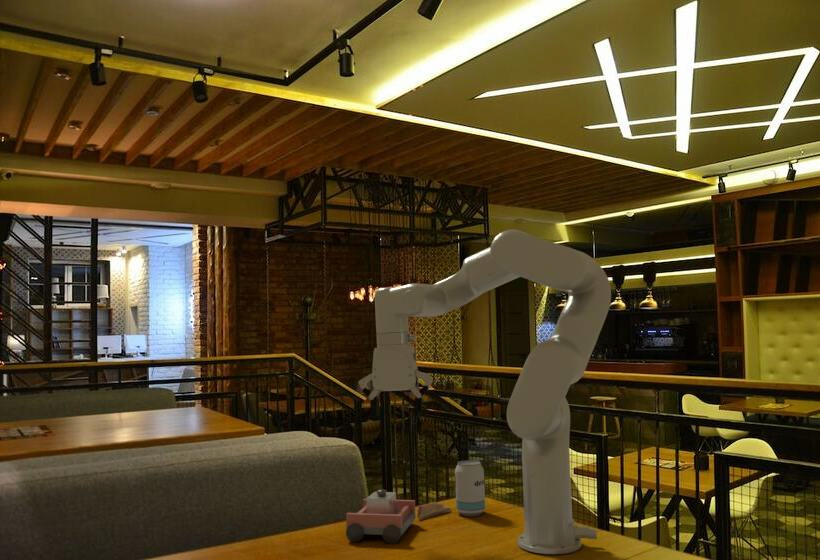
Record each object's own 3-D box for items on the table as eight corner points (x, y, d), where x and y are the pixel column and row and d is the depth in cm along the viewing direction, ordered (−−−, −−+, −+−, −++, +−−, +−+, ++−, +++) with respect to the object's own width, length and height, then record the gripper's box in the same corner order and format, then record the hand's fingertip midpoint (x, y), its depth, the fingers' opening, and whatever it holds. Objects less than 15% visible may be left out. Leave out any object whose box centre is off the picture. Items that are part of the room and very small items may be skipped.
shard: (417, 523, 154) (417, 515, 154) (397, 517, 160) (397, 509, 160) (452, 513, 161) (451, 506, 161) (431, 508, 167) (431, 500, 167)
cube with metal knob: (396, 515, 148) (395, 487, 149) (389, 522, 142) (388, 494, 143) (375, 514, 149) (374, 487, 150) (367, 521, 144) (366, 493, 144)
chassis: (416, 523, 151) (415, 499, 152) (400, 544, 137) (399, 517, 137) (366, 521, 154) (365, 497, 155) (345, 541, 140) (344, 515, 140)
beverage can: (477, 519, 154) (475, 466, 155) (451, 515, 157) (449, 464, 158) (490, 511, 160) (488, 461, 161) (464, 508, 163) (462, 458, 164)
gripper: (432, 338, 155) (437, 413, 153) (361, 342, 158) (364, 415, 157) (427, 339, 148) (431, 417, 146) (352, 343, 151) (356, 419, 149)
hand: (397, 416), depth 151 cm, fingers open, 9 cm apart
